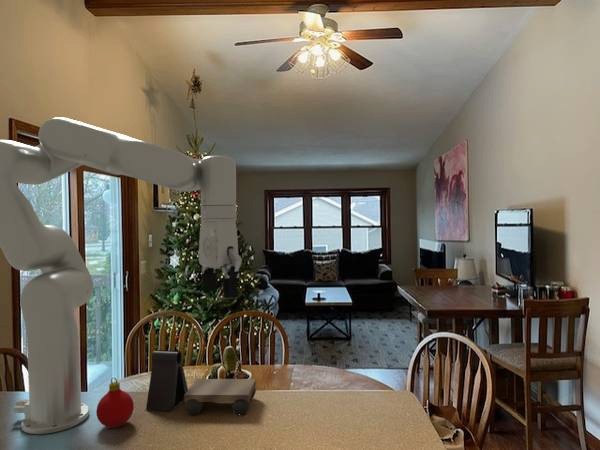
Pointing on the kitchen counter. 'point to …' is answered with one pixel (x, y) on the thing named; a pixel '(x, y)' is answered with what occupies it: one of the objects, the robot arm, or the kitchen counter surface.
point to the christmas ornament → (115, 406)
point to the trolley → (220, 394)
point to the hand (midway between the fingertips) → (219, 293)
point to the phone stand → (166, 381)
